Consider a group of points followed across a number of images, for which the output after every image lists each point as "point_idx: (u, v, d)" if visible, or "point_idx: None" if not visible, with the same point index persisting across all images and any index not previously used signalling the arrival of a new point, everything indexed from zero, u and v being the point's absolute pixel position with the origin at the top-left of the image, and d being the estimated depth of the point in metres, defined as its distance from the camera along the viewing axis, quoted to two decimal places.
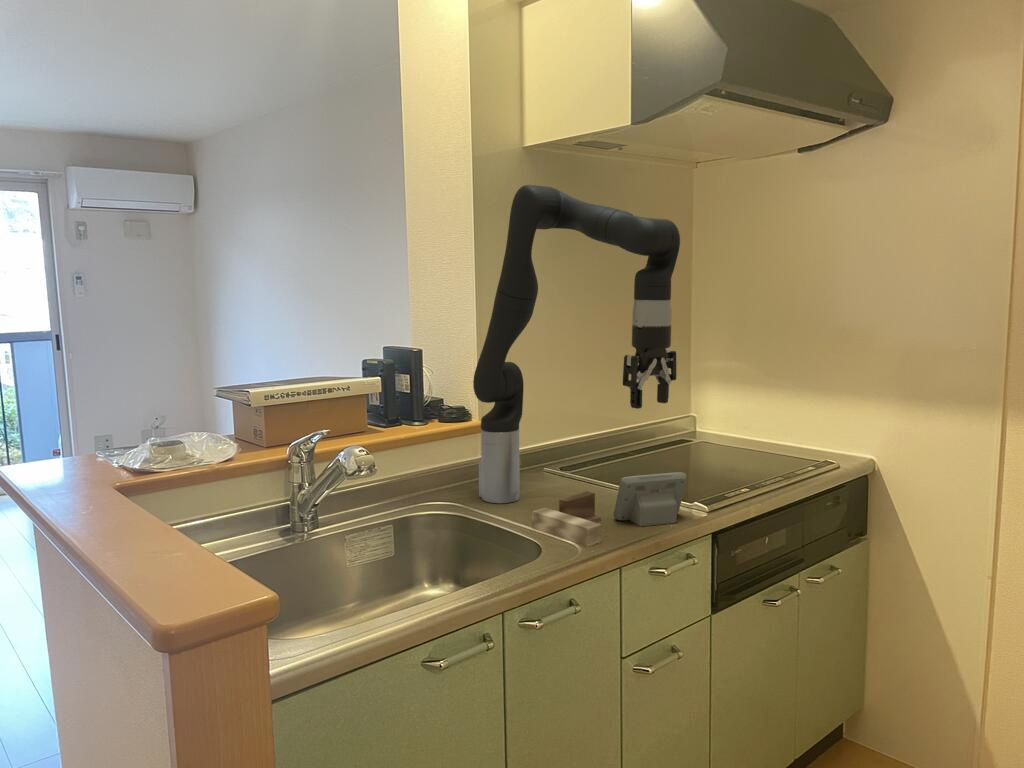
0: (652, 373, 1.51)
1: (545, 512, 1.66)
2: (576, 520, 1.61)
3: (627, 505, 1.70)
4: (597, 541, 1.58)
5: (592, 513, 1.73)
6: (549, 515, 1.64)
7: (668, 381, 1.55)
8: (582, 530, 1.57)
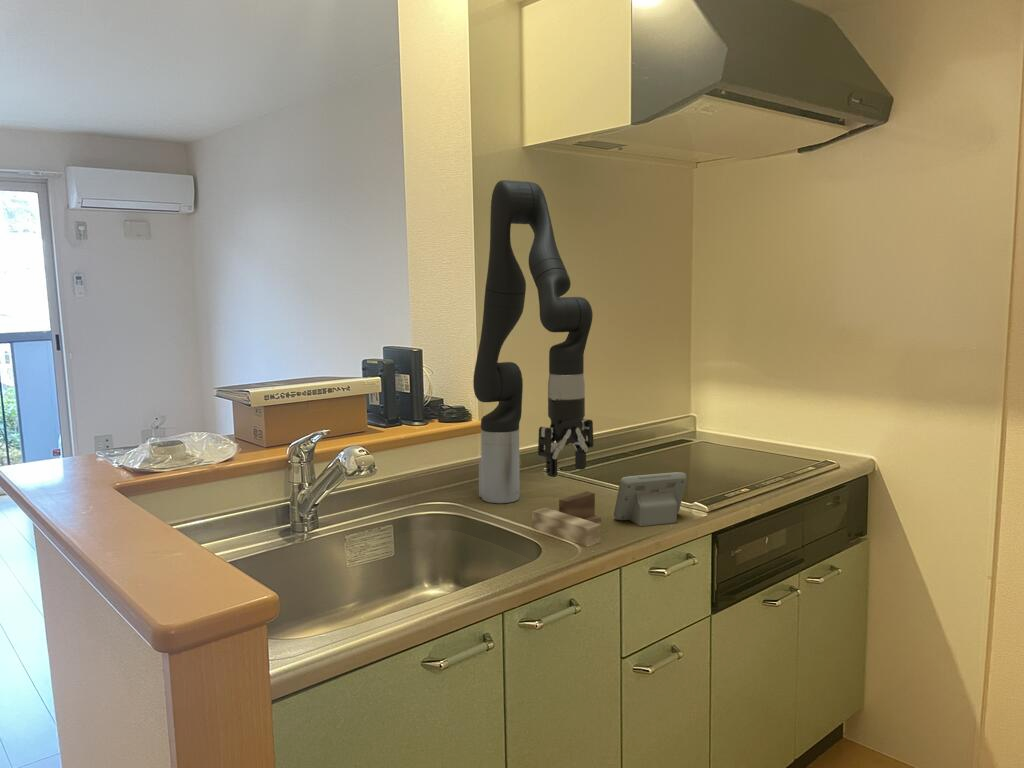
0: (567, 443, 1.59)
1: (545, 512, 1.66)
2: (576, 520, 1.61)
3: (627, 505, 1.70)
4: (597, 541, 1.58)
5: (592, 513, 1.73)
6: (549, 515, 1.64)
7: (585, 448, 1.63)
8: (582, 530, 1.57)
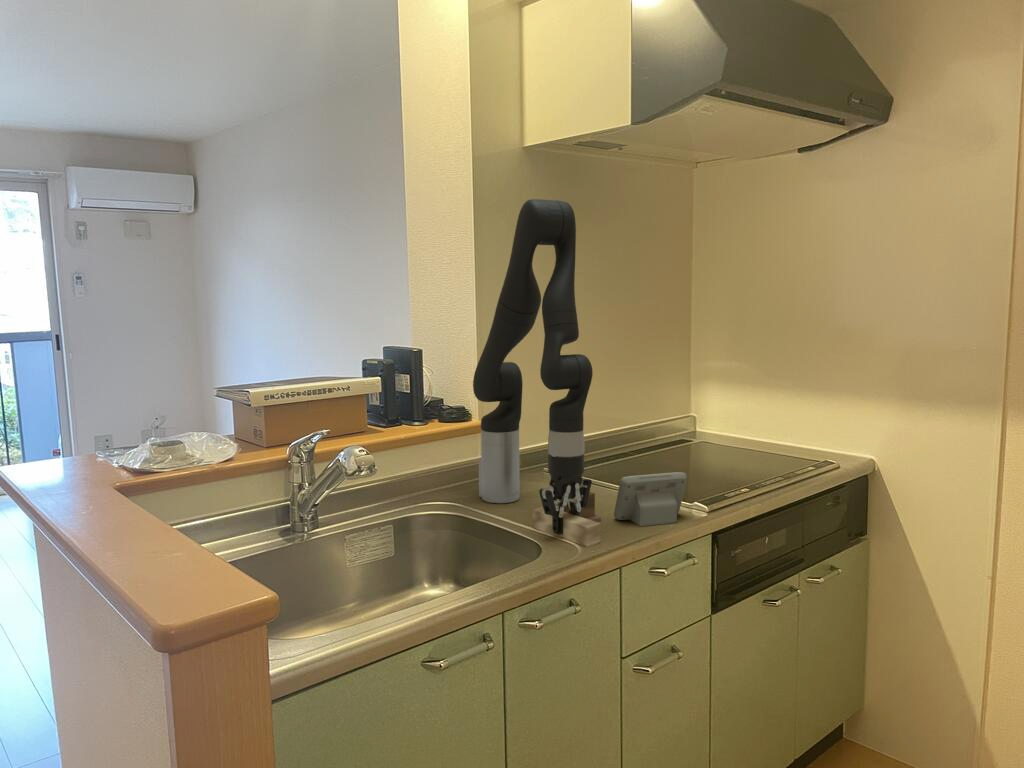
0: None
1: None
2: (576, 519, 1.61)
3: (628, 505, 1.70)
4: (597, 540, 1.58)
5: (592, 513, 1.73)
6: None
7: (578, 508, 1.63)
8: (581, 529, 1.57)
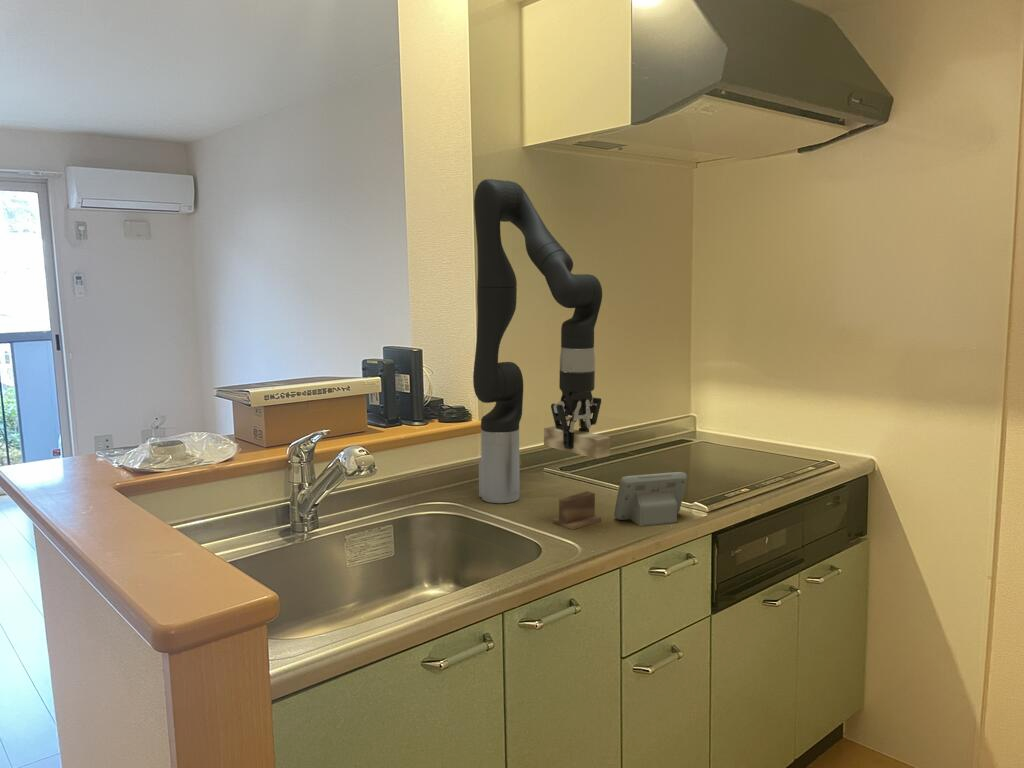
0: (577, 414, 1.67)
1: (556, 429, 1.72)
2: (586, 434, 1.66)
3: (628, 505, 1.71)
4: (606, 453, 1.64)
5: (592, 513, 1.73)
6: (560, 430, 1.70)
7: (588, 425, 1.69)
8: (592, 442, 1.62)
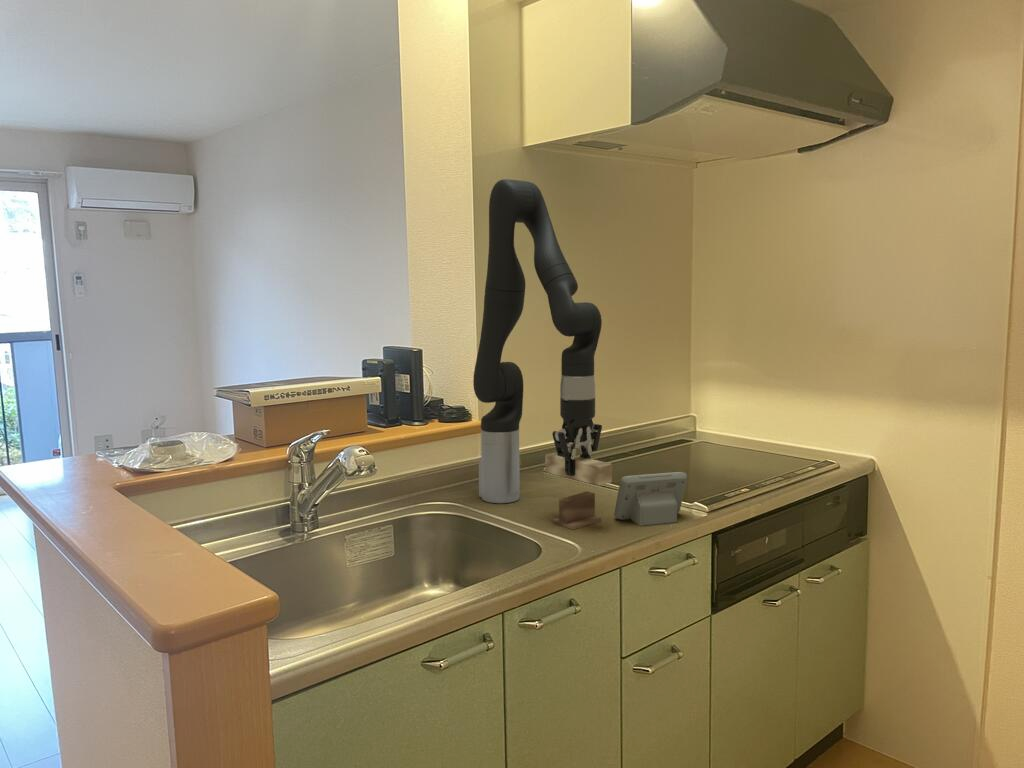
0: None
1: None
2: (588, 461, 1.67)
3: (628, 505, 1.71)
4: (608, 480, 1.65)
5: (592, 513, 1.73)
6: (561, 457, 1.71)
7: (589, 452, 1.70)
8: (594, 469, 1.63)
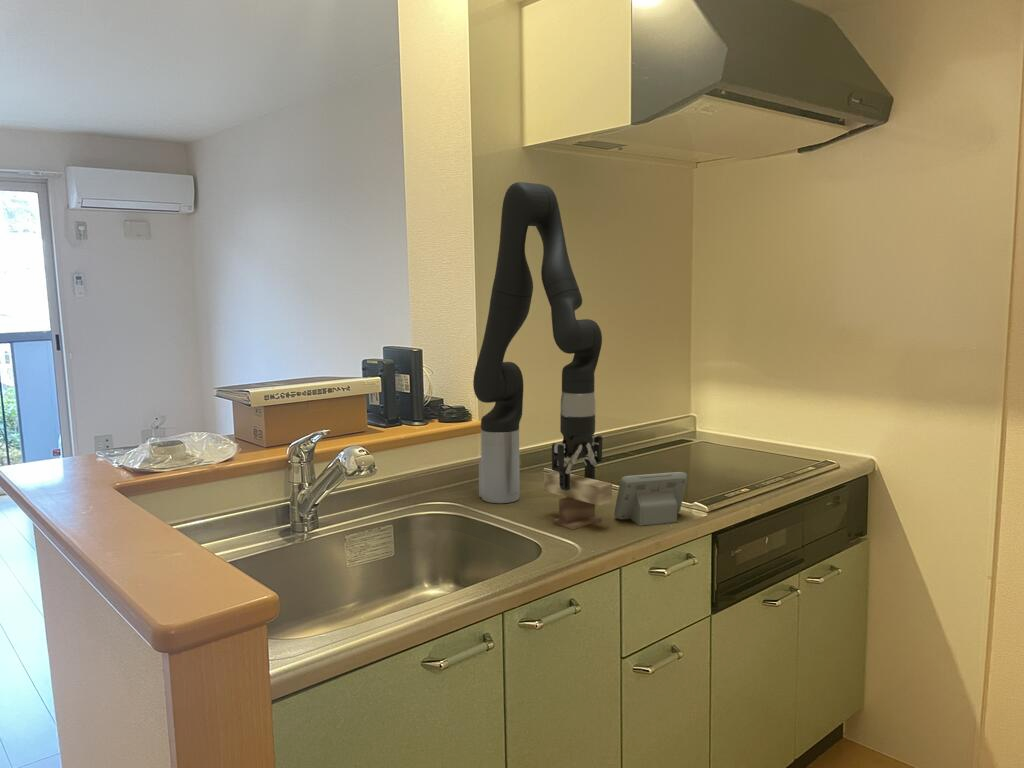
0: (578, 457, 1.68)
1: (557, 474, 1.74)
2: (587, 480, 1.68)
3: (628, 505, 1.71)
4: (608, 500, 1.65)
5: (592, 513, 1.73)
6: None
7: (594, 463, 1.72)
8: (594, 489, 1.64)
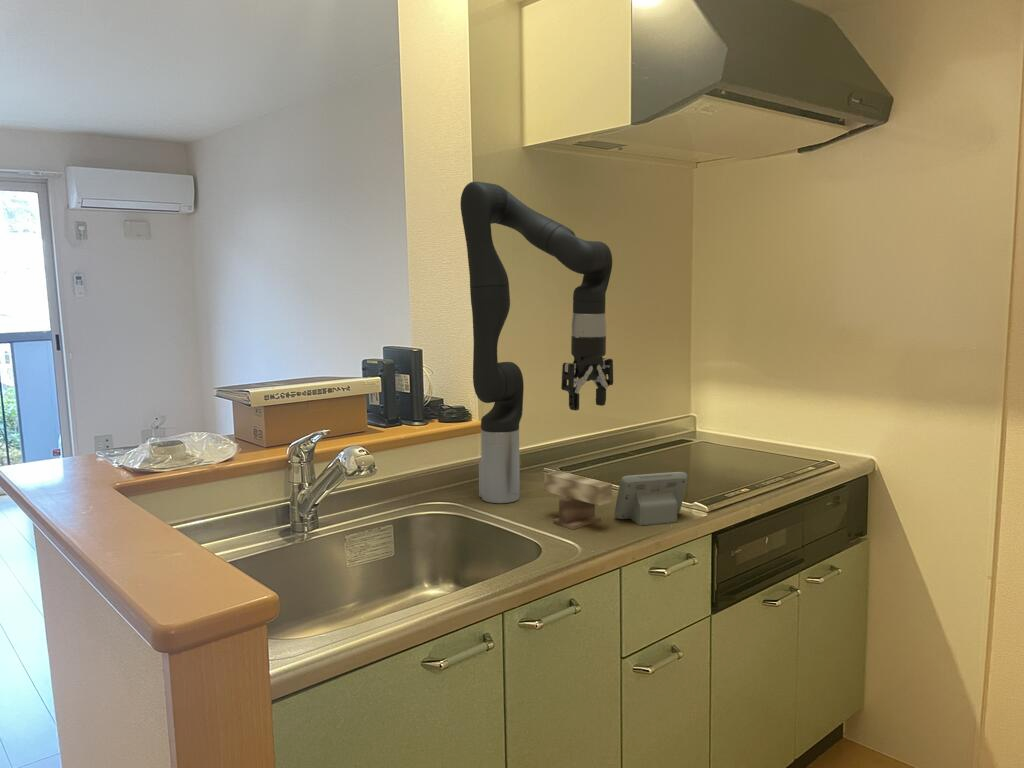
0: (589, 379, 1.69)
1: (557, 474, 1.74)
2: (587, 480, 1.68)
3: (628, 504, 1.71)
4: (608, 500, 1.65)
5: (592, 513, 1.73)
6: (561, 476, 1.72)
7: (605, 386, 1.73)
8: (594, 489, 1.64)
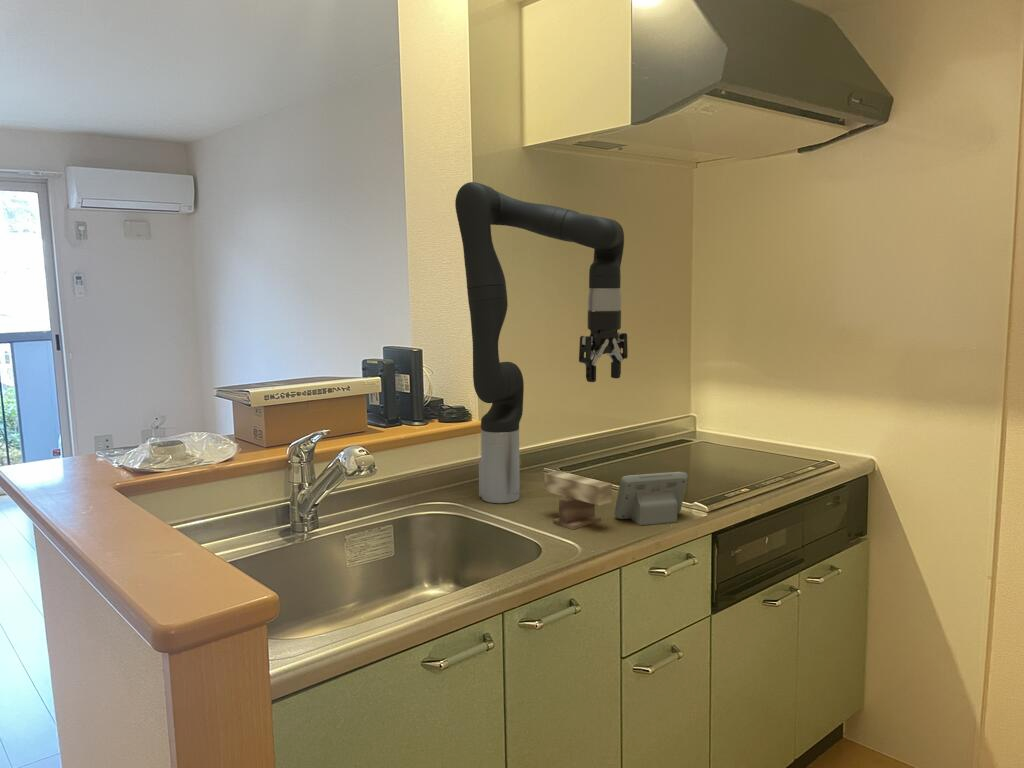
0: (605, 352, 1.75)
1: (557, 474, 1.74)
2: (587, 480, 1.68)
3: (628, 504, 1.71)
4: (608, 500, 1.65)
5: (592, 513, 1.73)
6: (561, 476, 1.72)
7: (620, 359, 1.79)
8: (594, 489, 1.64)
